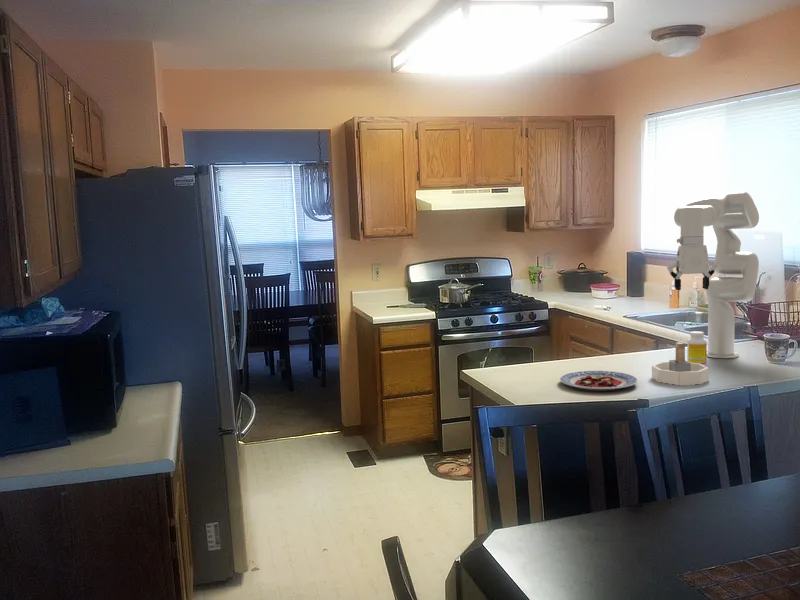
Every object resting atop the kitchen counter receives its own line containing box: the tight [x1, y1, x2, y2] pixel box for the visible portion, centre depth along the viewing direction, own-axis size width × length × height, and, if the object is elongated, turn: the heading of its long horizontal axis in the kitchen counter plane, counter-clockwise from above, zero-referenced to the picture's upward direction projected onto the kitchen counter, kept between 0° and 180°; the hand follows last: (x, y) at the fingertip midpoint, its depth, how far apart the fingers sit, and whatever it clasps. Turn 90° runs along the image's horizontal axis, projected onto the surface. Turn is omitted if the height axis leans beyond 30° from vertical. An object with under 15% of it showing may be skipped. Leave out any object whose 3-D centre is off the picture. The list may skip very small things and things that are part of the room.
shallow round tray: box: [651, 359, 710, 386], centre depth 234 cm, size 17×17×6 cm
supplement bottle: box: [686, 330, 708, 367], centre depth 254 cm, size 7×7×13 cm
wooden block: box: [675, 342, 686, 363], centre depth 234 cm, size 3×2×12 cm, turn 0°
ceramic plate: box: [559, 370, 639, 392], centre depth 233 cm, size 26×26×3 cm
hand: (691, 289), depth 241 cm, fingers open, 9 cm apart
